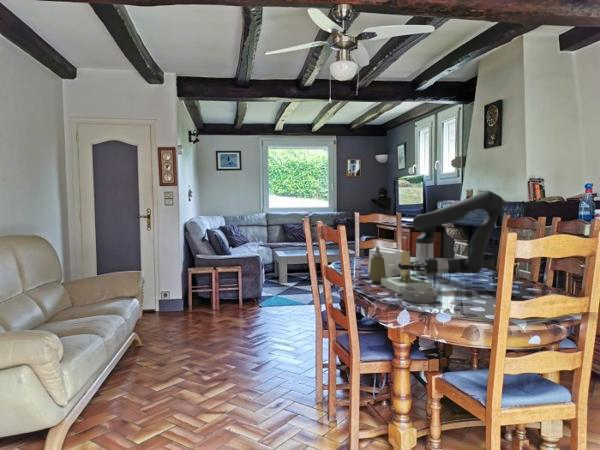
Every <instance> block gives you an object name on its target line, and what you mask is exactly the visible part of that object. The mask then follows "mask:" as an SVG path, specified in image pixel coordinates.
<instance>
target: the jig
mask: <svg viewBox="0 0 600 450" xmlns="http://www.w3.org/2000/svg"><path fill="white" fill-rule="evenodd" d="M380 285H381V286H383V287H384V288H386V289H388V290H390V289H391V290H390V291H392V292H395V293H397V294H398V295H403V294H402V290H403V288H404V287H406V286H413V287H414V288H415V289H416V290H417V291H422V292H423V291H425V290H427V289H428V287H432V288H433V284H432V283H430V282H427V281H425V280H422V279H419V278H418V277H417V278H416V277H414V276H411V275H410V282H401V276H394V277H385V278H381V282H380Z"/></svg>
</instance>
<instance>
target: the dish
mask: <svg viewBox="0 0 600 450" xmlns="http://www.w3.org/2000/svg"><path fill="white" fill-rule="evenodd" d="M401 295H402V299H404V301H406V302H410V303H415V304H429V303H430V304H431V303H432V304H433V303H435V302H437V301H438V297H439V294H438V289H437V288H436V287H433V286H432V287H428V289H427V290H425V291H423V292H422V291H417V290H416V289H415V288H414V287H413V286H406V287H404V288H403V290H402V294H401Z"/></svg>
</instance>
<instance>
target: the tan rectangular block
mask: <svg viewBox="0 0 600 450" xmlns="http://www.w3.org/2000/svg"><path fill="white" fill-rule="evenodd" d="M410 260H411V251H409V250H403V251H401V265H410ZM410 276H411V271H410V270H401V274H400V277H401V282H410Z"/></svg>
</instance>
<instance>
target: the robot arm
mask: <svg viewBox="0 0 600 450" xmlns="http://www.w3.org/2000/svg"><path fill="white" fill-rule="evenodd" d="M504 201H505V200H504V199H503V197H502V196H500V195H499V194H497V193H495V192H493V191H490V190H485V191H482V192H479V193H476V194H475V195H472V196H470V197H468V198H465V199H464V200H460V201H458V202H454V203H450V204H449V205H446V206H442V207H441V208H438V209H436V210H434V211H431V212H427V213H423V214H422V213H421V214H418V215H416V216H414V218H413V220H412V226H413V228H414V229H415V230H417V231H419V232H421V234H420V235H419V236H417V237H416V239H415V241H416V242H415V247H416V248H415V261H413V262H410V265H401V263H399V268H400V269H401V270H411V271H412V272H415V273H416V274H417V275H422V276H423V275H426V276H427V275H444V274H448V275H449V274H478V273H479V272H481V270H482V269H483V267H484V263H485V262H484V261H485V252H486V249H487V248H486V247H487V245H488V242H489V238H490V235H491V233H492V231H493V229H494V227H495V225H496V223H497V220H498V219H499V216H500V214H501V212H502V210H503V207H504V203H505V202H504ZM477 210H482V211H484V212H486V213H485V218H484V220H483V222H482V223H481V224H480V225H479V226H478V228H477V229H476V230H475V231H474V233H473V234H472V237H471V240H470V243H469V248H468V250H469V256H468V258H452V257H451V258H443V257H434V240H435V237H436V226H437V225H448V224H452V223H457V222H459V221H461V220H464V219H465V218H466V217H467V216H468V214H469V213H471V212H473V211H477ZM411 271H410V272H411Z"/></svg>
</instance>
